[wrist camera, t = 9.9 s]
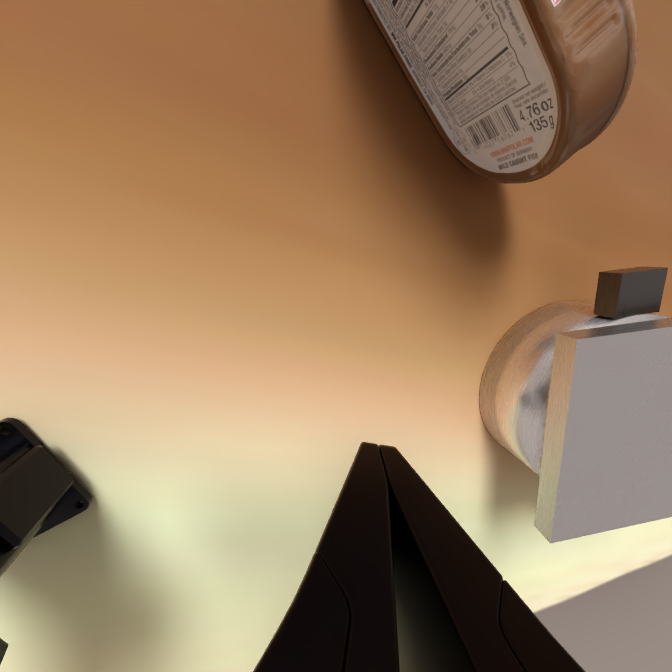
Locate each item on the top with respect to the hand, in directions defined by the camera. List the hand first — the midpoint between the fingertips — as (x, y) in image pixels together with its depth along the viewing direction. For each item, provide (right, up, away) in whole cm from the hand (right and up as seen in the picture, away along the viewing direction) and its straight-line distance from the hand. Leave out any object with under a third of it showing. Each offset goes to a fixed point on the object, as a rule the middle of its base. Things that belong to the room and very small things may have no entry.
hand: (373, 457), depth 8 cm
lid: (+17, -2, +10) cm, 20 cm away
